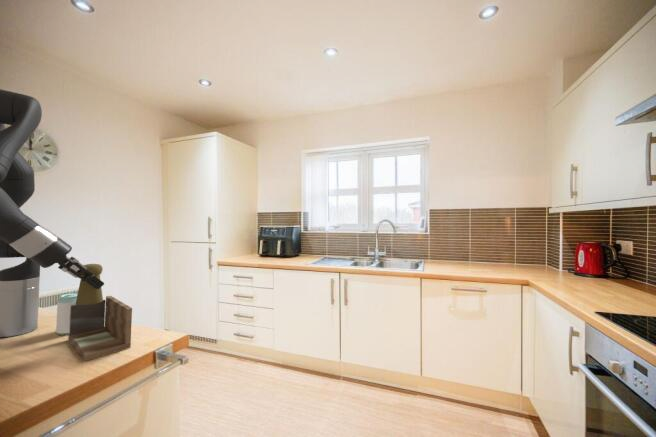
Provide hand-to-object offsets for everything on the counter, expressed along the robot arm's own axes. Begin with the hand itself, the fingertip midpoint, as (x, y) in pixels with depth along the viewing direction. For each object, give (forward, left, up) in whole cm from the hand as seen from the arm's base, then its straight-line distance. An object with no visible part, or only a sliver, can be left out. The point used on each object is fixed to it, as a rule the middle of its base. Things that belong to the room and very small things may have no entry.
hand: (98, 284), depth 80 cm
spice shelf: (0, +1, -18) cm, 18 cm away
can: (-18, -2, -18) cm, 26 cm away
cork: (0, -2, -5) cm, 5 cm away
